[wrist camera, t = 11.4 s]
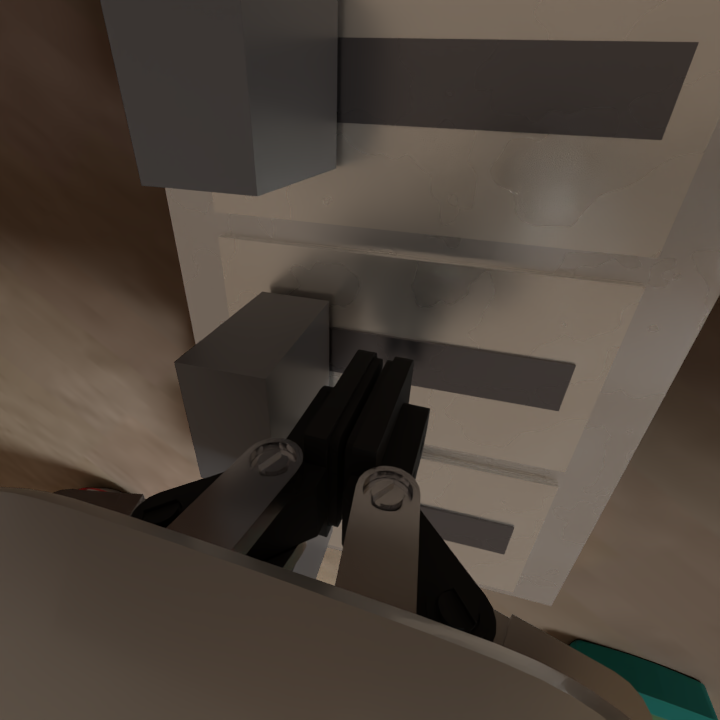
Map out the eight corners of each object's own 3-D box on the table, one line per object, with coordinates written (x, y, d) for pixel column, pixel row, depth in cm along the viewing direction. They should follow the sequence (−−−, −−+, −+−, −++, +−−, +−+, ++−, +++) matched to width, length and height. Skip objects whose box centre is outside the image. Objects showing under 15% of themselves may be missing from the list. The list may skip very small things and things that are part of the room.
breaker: (338, -26, 9) (229, -136, 5) (336, 168, 11) (257, 196, 7) (241, -24, 10) (72, -124, 6) (256, 162, 12) (141, 185, 8)
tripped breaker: (329, 301, 13) (265, 378, 9) (329, 398, 15) (276, 495, 11) (262, 291, 14) (174, 362, 10) (270, 386, 16) (200, 477, 12)
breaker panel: (898, -165, 8) (1043, -263, 6) (545, 567, 21) (552, 616, 19) (154, -115, 11) (80, -168, 9) (247, 494, 24) (225, 529, 22)
